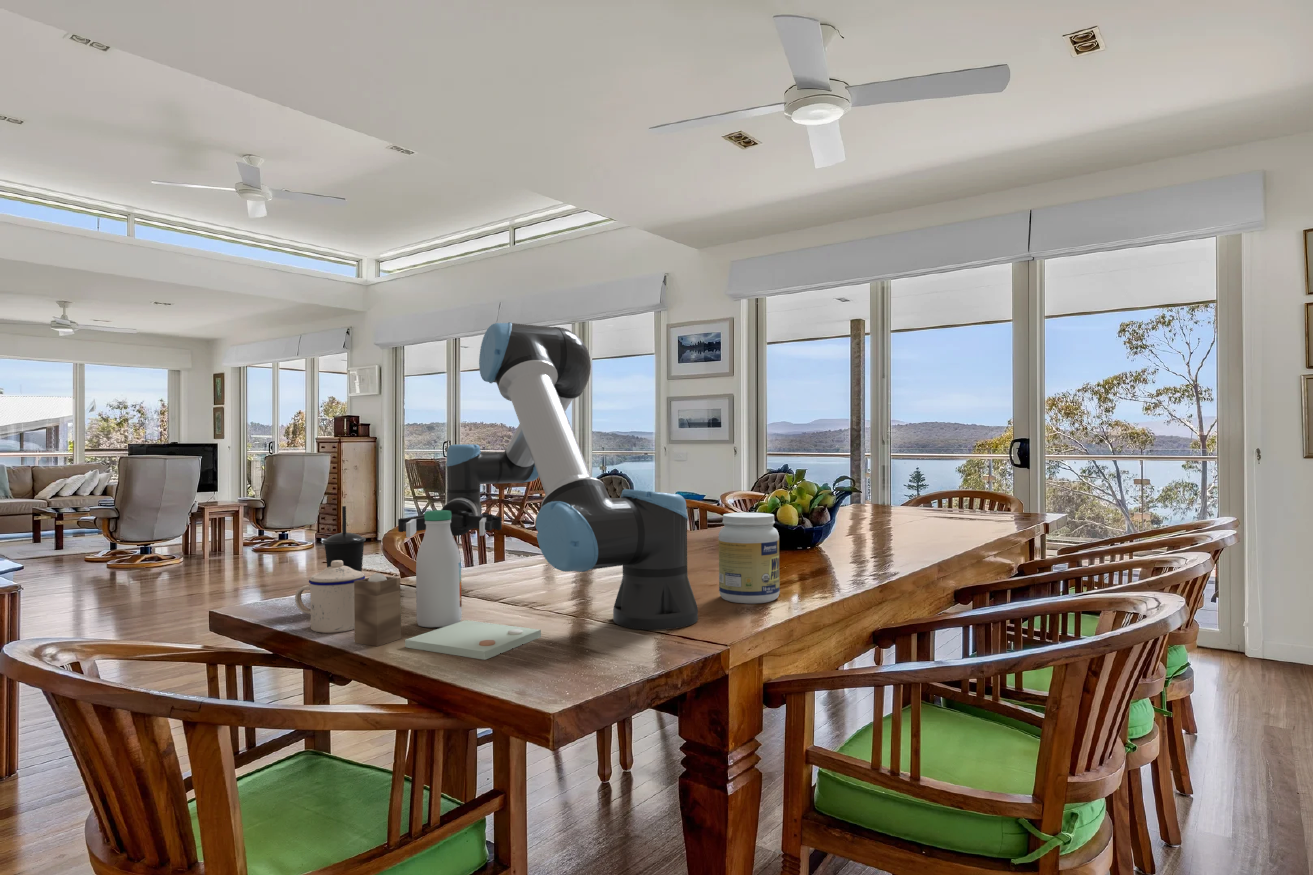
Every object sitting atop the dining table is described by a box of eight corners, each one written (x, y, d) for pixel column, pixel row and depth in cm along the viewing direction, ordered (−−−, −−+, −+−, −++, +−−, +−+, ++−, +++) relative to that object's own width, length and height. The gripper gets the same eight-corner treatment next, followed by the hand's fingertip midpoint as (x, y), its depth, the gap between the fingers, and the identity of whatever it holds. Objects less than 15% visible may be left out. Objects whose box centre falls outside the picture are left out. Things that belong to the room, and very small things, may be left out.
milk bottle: (457, 627, 130) (456, 512, 130) (412, 629, 129) (410, 513, 129) (465, 617, 138) (463, 508, 138) (422, 619, 137) (420, 509, 137)
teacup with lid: (374, 620, 136) (373, 556, 136) (351, 633, 127) (350, 565, 127) (309, 620, 137) (308, 556, 137) (282, 633, 127) (281, 565, 128)
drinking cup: (331, 605, 149) (329, 504, 149) (370, 604, 150) (369, 504, 150) (318, 614, 141) (316, 508, 141) (360, 613, 142) (358, 507, 142)
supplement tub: (771, 607, 143) (769, 518, 143) (710, 602, 148) (709, 516, 148) (786, 594, 155) (785, 512, 155) (729, 590, 159) (728, 510, 159)
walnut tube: (400, 638, 123) (400, 577, 123) (377, 646, 119) (376, 583, 119) (378, 635, 126) (378, 575, 126) (354, 642, 121) (354, 580, 121)
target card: (541, 637, 123) (540, 627, 123) (485, 659, 111) (485, 649, 111) (465, 626, 131) (465, 618, 131) (405, 647, 118) (405, 637, 118)
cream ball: (391, 590, 123) (391, 572, 123) (376, 594, 120) (376, 575, 120) (378, 589, 124) (377, 571, 124) (363, 592, 122) (363, 574, 122)
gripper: (516, 532, 166) (511, 547, 145) (399, 535, 163) (377, 550, 142) (516, 498, 166) (511, 508, 145) (399, 500, 163) (376, 511, 142)
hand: (445, 529), depth 143 cm, fingers open, 13 cm apart
